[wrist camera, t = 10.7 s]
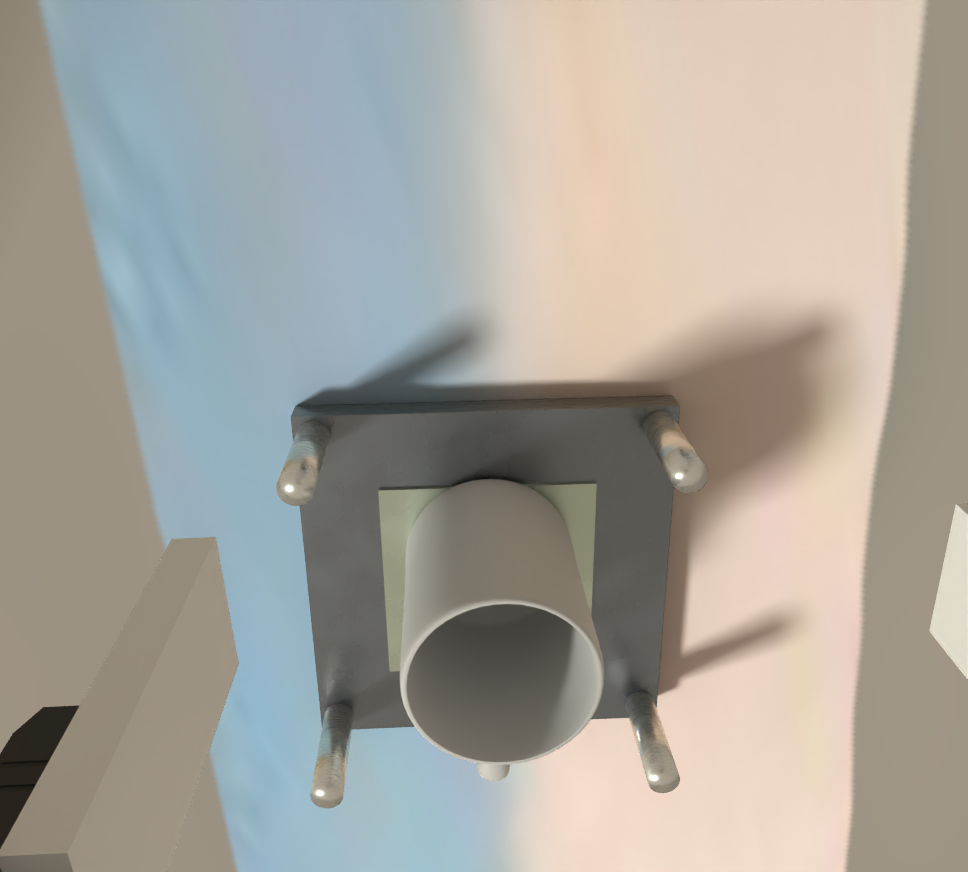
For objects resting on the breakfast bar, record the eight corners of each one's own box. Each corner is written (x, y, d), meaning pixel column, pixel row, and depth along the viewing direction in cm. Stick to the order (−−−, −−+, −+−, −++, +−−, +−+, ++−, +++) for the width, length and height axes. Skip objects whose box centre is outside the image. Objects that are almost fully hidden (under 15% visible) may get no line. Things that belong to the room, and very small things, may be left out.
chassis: (295, 406, 45) (269, 468, 38) (672, 395, 45) (714, 454, 39) (325, 712, 52) (308, 812, 45) (650, 699, 53) (682, 795, 46)
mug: (405, 476, 45) (396, 596, 34) (575, 476, 45) (616, 595, 35) (407, 674, 49) (399, 832, 39) (561, 672, 50) (593, 828, 39)
